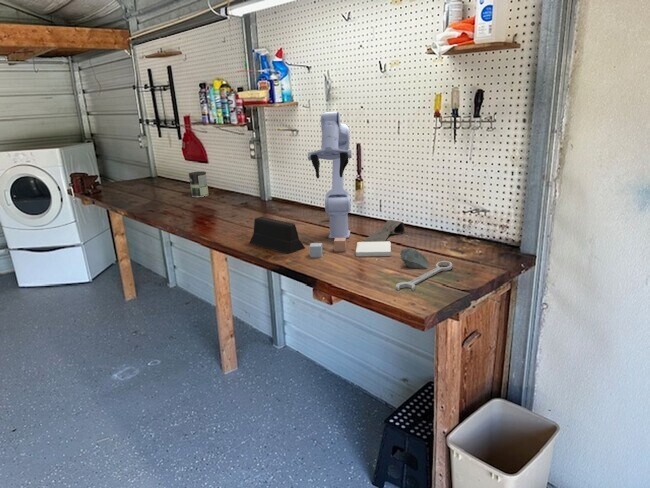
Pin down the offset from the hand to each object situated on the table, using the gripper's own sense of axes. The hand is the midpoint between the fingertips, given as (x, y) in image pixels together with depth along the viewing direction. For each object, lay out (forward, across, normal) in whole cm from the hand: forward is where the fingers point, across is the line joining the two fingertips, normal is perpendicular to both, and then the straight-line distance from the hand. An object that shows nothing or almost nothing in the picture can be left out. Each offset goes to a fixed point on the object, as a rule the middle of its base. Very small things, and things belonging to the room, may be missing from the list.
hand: (329, 176), depth 154 cm
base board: (+16, +13, +25) cm, 32 cm away
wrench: (+34, +29, +6) cm, 45 cm away
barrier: (+10, -24, +31) cm, 40 cm away
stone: (+26, +28, +14) cm, 41 cm away
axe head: (+5, +17, +38) cm, 42 cm away
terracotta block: (+15, +1, +26) cm, 30 cm away
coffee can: (-61, -94, +109) cm, 157 cm away
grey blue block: (+19, -7, +22) cm, 29 cm away
